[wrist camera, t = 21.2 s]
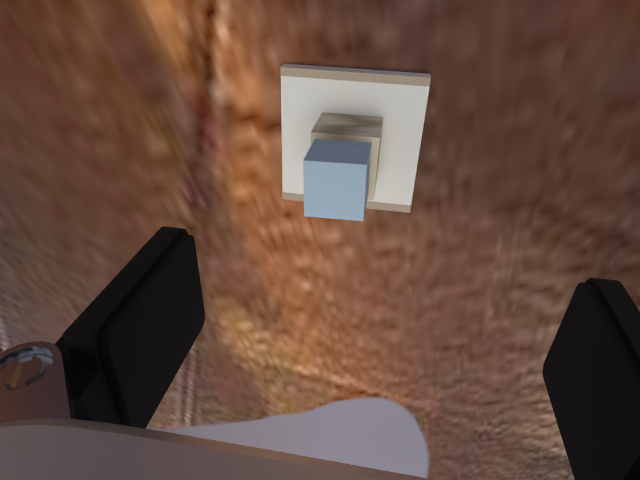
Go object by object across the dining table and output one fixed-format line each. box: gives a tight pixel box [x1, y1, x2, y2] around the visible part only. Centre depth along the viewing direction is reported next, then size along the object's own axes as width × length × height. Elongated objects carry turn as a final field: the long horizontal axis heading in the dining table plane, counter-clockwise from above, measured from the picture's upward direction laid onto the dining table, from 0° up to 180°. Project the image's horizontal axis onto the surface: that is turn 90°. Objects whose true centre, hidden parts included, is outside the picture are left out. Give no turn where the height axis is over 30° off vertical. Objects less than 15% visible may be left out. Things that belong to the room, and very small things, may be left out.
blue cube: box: [303, 139, 372, 221], centre depth 39 cm, size 5×5×5 cm
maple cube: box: [311, 112, 383, 200], centre depth 43 cm, size 6×6×6 cm
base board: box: [281, 64, 431, 213], centre depth 46 cm, size 14×14×2 cm
